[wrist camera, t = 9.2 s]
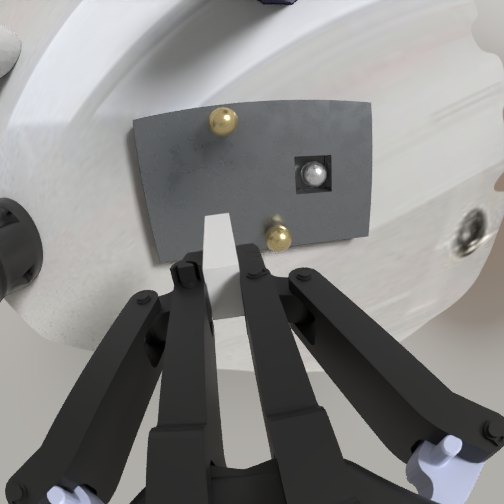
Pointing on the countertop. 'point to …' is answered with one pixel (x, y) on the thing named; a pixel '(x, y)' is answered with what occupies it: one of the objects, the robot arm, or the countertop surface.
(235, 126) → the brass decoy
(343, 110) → the plate
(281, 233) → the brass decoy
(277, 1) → the bottle
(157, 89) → the countertop surface
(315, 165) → the steel ball
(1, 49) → the mug
